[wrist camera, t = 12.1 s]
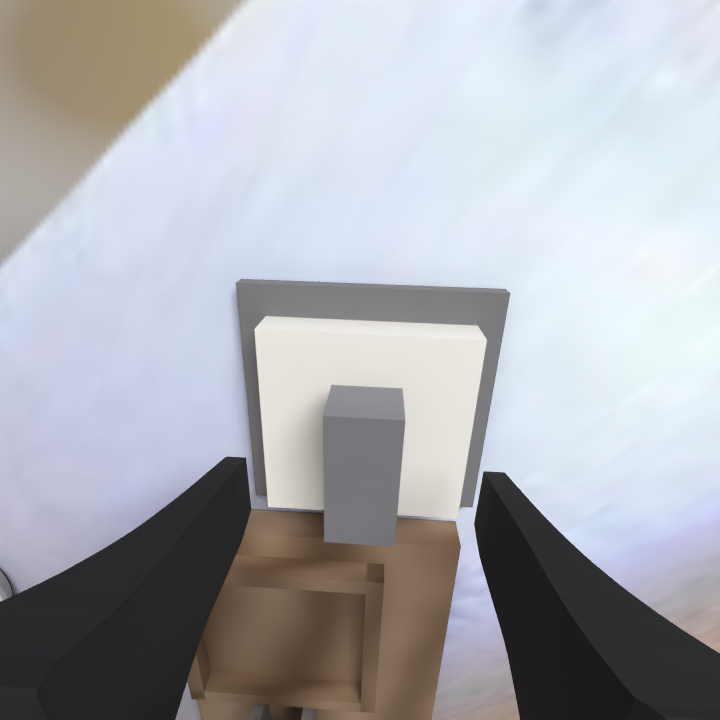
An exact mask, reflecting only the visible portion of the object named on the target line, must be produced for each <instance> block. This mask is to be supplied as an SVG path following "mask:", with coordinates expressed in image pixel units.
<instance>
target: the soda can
mask: <svg viewBox="0 0 720 720" xmlns="http://www.w3.org/2000/svg"><path fill="white" fill-rule="evenodd" d="M10 597H12V590H11V586H10V584H9V582H8V580H7V578H6V577H5V575H4V574H3V573H2V571H1V570H0V602H1V601H3V600H5V599H7V598H10Z"/></svg>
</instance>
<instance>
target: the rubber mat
mask: <svg viewBox="0 0 720 720" xmlns="http://www.w3.org/2000/svg"><path fill="white" fill-rule="evenodd" d="M236 286H237V297H238V307H239V318H240V328H241V339H242V349H243V359H244V370H245V380H246V391H247V401H248V412H249V422H250V432H251V443H252V453H253V464H254V474H255V484H256V495H267V485H266V472H265V459H264V446H263V433H262V421H261V408H260V395H259V382H258V369H257V356H256V343H255V331H254V329H255V328H256V327H257V326H258V324H259V323H260V322H261V321H262V320H263V319H264V318H265V316H275V317H297V318H319V319H342V320H364V321H386V322H408V323H430V324H453V325H475V326H478V327H479V328H480V330H481V331H482V333H483V334H484V336H485V338H486V339H487V343H486V349H485V355H484V361H483V367H482V373H481V379H480V386H479V392H478V398H477V404H476V410H475V416H474V422H473V428H472V434H471V440H470V446H469V452H468V458H467V464H466V471H465V477H464V483H463V489H462V495H461V501H460V507H473V501H474V495H475V490H476V484H477V478H478V473H479V467H480V461H481V456H482V450H483V444H484V439H485V433H486V427H487V422H488V416H489V410H490V405H491V399H492V393H493V388H494V382H495V376H496V371H497V365H498V359H499V354H500V348H501V342H502V337H503V331H504V325H505V320H506V314H507V308H508V303H509V297H510V293H509V292H508V291H507V290H506V289H488V288H461V287H435V286H409V285H382V284H356V283H330V282H304V281H277V280H251V279H241V280H239V281H238V282H236Z"/></svg>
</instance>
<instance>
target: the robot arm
mask: <svg viewBox="0 0 720 720" xmlns="http://www.w3.org/2000/svg"><path fill="white" fill-rule="evenodd" d="M250 512H251V503H250V494H249V484H248V474H247V464H246V458H240V457H225V458H224V459H223V460H222V461H220V462H219V463H218V464H217V465H216V466H215V467H213V468H212V469H211V470H210V471H209V472H207V473H206V474H205V475H204V476H203V477H202V478H200V479H199V480H198V481H197V482H196V483H194V484H193V485H192V486H191V487H190V488H188V489H187V490H186V491H185V492H184V493H182V494H181V495H180V496H179V497H177V498H176V499H175V500H174V501H172V502H171V503H170V504H168V505H167V506H166V507H164V508H163V509H162V510H160V511H159V512H158V513H156V514H155V515H154V516H152V517H151V518H150V519H148V520H147V521H146V522H144V523H143V524H142V525H140V526H139V527H137V528H136V529H134V530H133V531H131V532H130V533H128V534H127V535H125V536H124V537H122V538H120V539H119V540H117V541H116V542H114V543H113V544H111V545H109V546H108V547H106V548H104V549H103V550H101V551H99V552H97V553H96V554H94V555H92V556H90V557H89V558H87V559H85V560H83V561H81V562H80V563H78V564H76V565H74V566H73V567H71V568H69V569H67V570H65V571H63V572H62V573H60V574H58V575H56V576H54V577H52V578H50V579H48V580H46V581H44V582H42V583H40V584H38V585H35V586H33V587H31V588H29V589H27V590H25V591H23V592H21V593H19V594H16V595H14V596H12V597H10V598H7V599H5V600H3V601H1V602H0V720H175V718H176V715H177V712H178V708H179V705H180V702H181V699H182V696H183V692H184V689H185V686H186V683H187V680H188V677H189V673H190V670H191V667H192V664H193V661H194V658H195V655H196V652H197V649H198V646H199V643H200V640H201V637H202V634H203V631H204V629H205V626H206V623H207V621H208V618H209V616H210V613H211V611H212V609H213V607H214V604H215V602H216V600H217V597H218V595H219V593H220V591H221V588H222V586H223V584H224V581H225V579H226V577H227V575H228V572H229V570H230V568H231V566H232V563H233V561H234V559H235V556H236V554H237V552H238V549H239V547H240V544H241V542H242V539H243V536H244V533H245V529H246V526H247V523H248V519H249V516H250ZM474 525H475V532H476V538H477V544H478V550H479V555H480V559H481V563H482V567H483V570H484V573H485V577H486V580H487V584H488V587H489V591H490V594H491V597H492V601H493V604H494V607H495V611H496V614H497V618H498V621H499V624H500V628H501V631H502V634H503V638H504V642H505V646H506V650H507V654H508V659H509V664H510V669H511V674H512V679H513V684H514V689H515V694H516V699H517V705H518V710H519V715H520V720H720V653H718V652H716V651H715V650H713V649H711V648H710V647H708V646H707V645H705V644H704V643H702V642H700V641H699V640H697V639H696V638H694V637H693V636H691V635H690V634H688V633H686V632H685V631H683V630H682V629H680V628H679V627H677V626H676V625H674V624H673V623H671V622H670V621H668V620H667V619H665V618H664V617H663V616H661V615H660V614H658V613H657V612H655V611H654V610H653V609H651V608H650V607H649V606H647V605H646V604H644V603H643V602H642V601H640V600H639V599H638V598H636V597H635V596H633V595H632V594H631V593H629V592H628V591H627V590H626V589H624V588H623V587H622V586H620V585H619V584H618V583H617V582H615V581H614V580H613V579H612V578H610V577H609V576H608V575H607V574H606V573H604V572H603V571H602V570H601V569H600V568H598V567H597V566H596V565H595V564H594V563H592V562H591V561H590V560H589V559H588V558H587V557H586V556H584V555H583V554H582V553H581V552H580V551H579V550H578V549H577V548H576V547H575V546H574V545H573V544H572V543H570V542H569V541H568V540H567V539H566V538H565V537H564V536H563V535H562V534H561V533H560V532H559V531H558V530H557V529H556V528H555V527H554V526H553V525H552V524H551V523H550V522H549V521H548V520H547V519H546V518H545V517H544V516H543V515H542V514H541V512H540V511H539V510H538V509H537V508H536V507H535V506H534V505H533V504H532V503H531V502H530V501H529V499H528V498H527V497H526V496H525V495H524V494H523V493H522V492H521V490H520V489H519V488H518V487H517V486H516V485H515V484H514V483H513V482H512V480H511V479H510V478H509V477H508V476H507V475H506V474H505V473H502V472H485V471H484V473H483V478H482V484H481V489H480V495H479V500H478V506H477V511H476V517H475V522H474Z"/></svg>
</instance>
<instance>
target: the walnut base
mask: <svg viewBox="0 0 720 720" xmlns="http://www.w3.org/2000/svg"><path fill="white" fill-rule="evenodd" d="M460 548H461V546H460V541H459V536H458V532H457V527H456V522H453V521H436V520H420V519H403V518H397V524H396V535H395V547H393V546H378V545H362V544H347V543H332V542H324V514H319V513H303V512H286V511H269V510H252V509H251V512H250V516H249V519H248V523H247V526H246V529H245V533H244V536H243V539H242V542H241V544H240V547H239V549H238V552H237V554H236V556H235V559H234V561H233V563H232V566H231V568H230V570H229V572H228V575H227V577H226V579H225V581H224V584H223V586H222V588H221V591H220V593H219V595H218V597H217V600H216V602H215V604H214V607H213V609H212V611H211V613H210V616H209V618H208V621H207V623H206V626H205V629H204V631H203V634H202V637H201V640H200V643H199V646H198V649H197V652H196V655H195V658H194V661H193V664H192V667H191V670H190V673H189V677H188V680H187V681H188V685H189V690H190V694H191V698H192V699H197V701H198V705H199V710H200V714H201V719H202V720H431V719H432V713H433V707H434V701H435V695H436V689H437V683H438V677H439V671H440V666H441V660H442V654H443V648H444V642H445V636H446V630H447V624H448V618H449V613H450V607H451V601H452V595H453V589H454V583H455V577H456V571H457V566H458V560H459V554H460Z"/></svg>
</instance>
